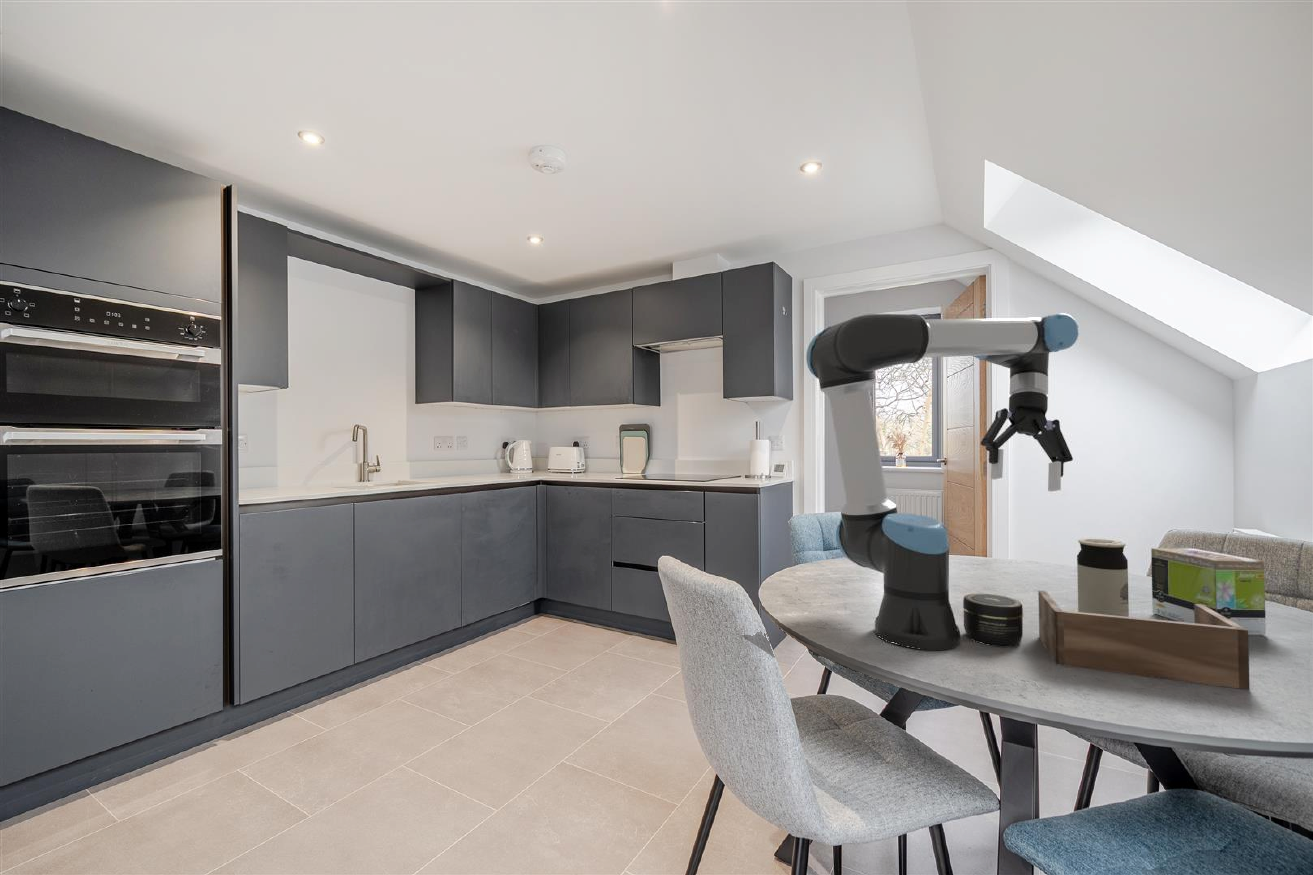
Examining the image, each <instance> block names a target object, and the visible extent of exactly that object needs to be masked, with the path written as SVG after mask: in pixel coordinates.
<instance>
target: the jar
mask: <svg viewBox="0 0 1313 875" xmlns="http://www.w3.org/2000/svg"><path fill="white" fill-rule="evenodd" d="M962 602H963V603H962V608H963V628H964V631H965V635H966V636H967V637H968V638H969V639H970V638H971V639H970V640H972V639H973V640H972V641H974V640H975V641H974V642H976V641H977V642H976V643H979V642H982V643H984V645H986V644H989V645H988V646H992V645H993V647H1000V646H1006V647H1007V646H1011V647H1015V646H1018V645H1019V644H1020V643H1021V642H1022V638H1023V631H1024V630H1023V625H1024V624H1023V617H1024V610H1023V609H1024V608H1023V604H1022V602H1021V601H1019V600H1017V599H1015V598H1012V597H1009V596H1005V595H998V594H991V593H970V594H967V595H966V594H965V595H964V597H963V600H962ZM982 643H981V644H982Z"/></svg>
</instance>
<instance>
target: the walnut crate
mask: <svg viewBox="0 0 1313 875" xmlns="http://www.w3.org/2000/svg"><path fill="white" fill-rule="evenodd" d="M1037 591H1038V631H1039V632H1038V634H1039V635H1038V636H1039V639H1040V641H1041V642H1042V644H1043V645H1044V647H1045V649H1046V650H1047V652H1048V653H1049V655H1050V657H1051V658H1052V660H1053V662H1054V663H1055V665H1058V666H1065V667H1066V666H1067V667H1073V668H1079V669H1080V668H1081V669H1088V670H1089V669H1090V670H1097V671H1103V672H1104V671H1105V672H1113V673H1119V674H1126V675H1133V676H1134V675H1136V676H1143V677H1150V678H1156V679H1157V678H1159V679H1163V680H1164V679H1165V680H1174V681H1180V682H1187V683H1196V684H1202V685H1203V684H1204V685H1211V686H1218V687H1224V688H1225V687H1226V688H1232V689H1233V688H1234V689H1240V690H1241V689H1242V690H1249V691H1250V690H1251V689H1250V687H1251V686H1250V685H1251V684H1250V656H1249V655H1250V652H1249V651H1250V648H1249V635H1248V630H1247V629H1245V628H1243V627H1241V626H1239V625H1238V624H1236V623H1234V622H1232V621H1231V620H1229V619H1227V618H1225V617H1224V616H1222V615H1220V614H1218V613H1217V612H1215V611H1213V610H1211V609H1210V608H1208V607H1206V606H1204V605H1200V604H1194V621H1195V623H1186V622H1178V621H1175V620H1166V619H1165V620H1164V619H1154V618H1144V617H1143V618H1142V617H1132V616H1129V617H1125V616H1114V615H1104V614H1094V613H1084V612H1078V611H1074V610H1073V611H1071V610H1062V609H1061V607H1060V606H1059V605H1058V604H1057V603H1056V602H1055V600H1054V599H1053V598H1052V597H1051V596H1050V594H1049V592H1047V591H1046V590H1045V591H1044V590H1037Z"/></svg>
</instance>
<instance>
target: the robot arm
mask: <svg viewBox="0 0 1313 875" xmlns="http://www.w3.org/2000/svg"><path fill="white" fill-rule="evenodd" d="M1078 328H1079V327H1078V324H1077V321H1076V320H1075V318H1074V317H1072V315H1070V314H1067V313H1063V312H1062V313H1061V312H1060V313H1055V314H1054V313H1053V314H1048V315H1047V316H1041V317H1010V318H1009V317H1005V318H1003V317H1001V318H999V317H998V318H992V317H991V318H941V319H940V318H936V319H935V318H933V319H932V318H931V319H929V318H927V319H925V317H923V316H922V315H920V314H916V313H915V314H913V313H912V314H910V313H909V314H907V313H906V314H903V313H901V314H900V313H897V314H895V313H878V314H877V313H876V314H874V313H871V314H870V313H869V314H863V315H857V316H854V317H852V318H850V319H848V320H845V321H843V322H839V323H837V324H835V325H832V326H827V328H825V329H823V330H822V331H820V332H818V333H817V334H816V335H815V336H814V337H813V338H812V339H811V341H810V342H809V344H808V346H807V350H806V364H807V368H808V369H809V372H810V373H811V374H812V375H814V377H815V378H816V379H818V382H819V389H820V392H822V393H823V394H825V395H826V396H828V399H829V404H830V410H831V417H832V423H833V428H834V429H833V430H834V435H835V440H836V441H835V442H836V447H837V453H838V458H839V459H838V460H839V465H840V472H841V478H842V482H843V483H842V484H843V489H844V495H845V503H844V504H843V506H842V508H841V509H840V516H841V519H840V520H839V524H837V526H836V530H835V540H836V541H835V542H836V543H837V547H838V549H839V550H840V552H841V553H842V555H843V556H844V557H845V558H846V559H848V560H849V561H851V562H852V563H854V564H856V565H858V566H859V567H863V568H865V569H866V568H868V569H870V570H873V571H876V572H879V573H881V574H883V597H882V599H881V603H880V606H879V610H878V615H877V616H876V618H875V620H874V633H875V632H876V633H877V635H878V636H880V637H881V638H883V639H885V640H887V641H889V642H888V643H890V642H894V643H897V644H899V645H903V646H902V647H904V646H909V647H914V648H913V649H915V648H920V649H919V650H924V649H929V651H941V650H942V651H943V650H950V649H953V648H956V647H958V646H960V643H961V632H960V628H959V626H958V625H957V623H956V619H955V616H954V615H955V614H954V612H953V608H952V606H951V602H950V592H949V591H950V588H949V587H950V586H949V585H950V552H949V551H950V541H949V536H948V528H947V527H946V525H945V523H943V522H942V521H941V520H939V519H936V518H933V517H929V516H926V515H919V514H915V513H914V514H913V513H906V512H905V513H901V512H900V513H898V507H897V504H896V503H895V502H893V500H891V499H890V498H888V495H887V494H888V492H887V488H886V480H885V475H884V474H885V473H884V469H883V462H882V457H881V451H880V444H879V439H878V433H877V428H876V421H875V420H876V419H875V415H874V409H873V402H872V396H871V388H872V387H873V385H874V384H875V383H876V382H877V381H876V375H875V372H876V371H878V370H881V369H885V368H889V367H892V366H897V365H902V364H916V363H918V362H920V361H922V359H924V358H946V357H947V358H948V357H949V358H951V357H974V358H976V359H978V360H980V361H985V362H988V363H990V364H991V363H992V364H994V365H998V366H1001V367H1004V368H1007V369H1009V395H1010V396H1009V397H1008V408H1006V407H1005V408H1001V409H1000V410H997V411H996V412H995V417H994V420H993V422H992V423H991V425H990V427H989V428H988V430H987V431H986V433H985V434H984V436H983V438H982V440H981V441H980V445H981V446H982V447H985V449H986V451H987V452H989V453H988V462H989V464H991V468H990V470H991V472H990V479H991V480H997V479H1002V478H1003V472H1004V471H1003V469H1004V468H1003V466H1004V449H1003V448H1002V449H1001V447H1002V446H1003V445H1004V444H1005V443H1006V442H1008V441H1009V439H1011V438H1012V437H1013V436H1014V435H1015V434H1016V433H1017V434H1018V435H1025V436H1029V437H1032V438H1033V439H1034V440H1036V441H1037V442H1038V443H1039V445H1040V446H1041V448H1042V449H1043V451H1044V453H1045V454H1046V455H1047V457H1048V458H1049V460H1050V461H1051V462H1049V463H1048V477H1047V480H1048V481H1047V491H1048V492H1056V491H1057V492H1058V491H1061V490H1062V489H1061V487H1062V486H1061V485H1062V484H1061V483H1062V482H1061V480H1062V477H1063V476H1064V467H1065V466H1064V464H1065V463H1067V462H1072V461H1073V459H1074V458H1073V456H1072V453H1071V450H1070V449H1069V446H1068V444H1067V441H1066V439H1065V437H1064V435H1063V432H1062V430H1061V426H1060V425H1061V423H1060V420H1059V419H1054V420H1049V419H1047V417H1046V414H1047V412H1048V408H1049V407H1048V406H1049V403H1048V402H1049V400H1048V398H1049V396H1047V395H1049V359H1050V358H1049V357H1050V355H1049V354H1050V353H1057V352H1060V351H1063V350H1067V349H1070V348H1071V347H1073V346H1074V345H1075V344H1076V342H1077V340H1078V337H1079V329H1078ZM1007 420H1009V422H1010V425H1009V426H1008V427H1006V428H1005V430H1004V431H1003V432H1002V433H1001V434H999V433H1000V431H1001V430H1002V428H1003V426H1004V424H1005V423H1006V421H1007ZM998 435H999V436H998ZM877 635H876V636H877ZM878 636H877V637H878ZM881 638H880V639H881ZM883 639H882V640H883ZM885 640H884V641H885ZM887 641H886V642H887ZM899 645H898V646H899ZM909 647H908V648H909Z"/></svg>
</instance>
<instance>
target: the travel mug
mask: <svg viewBox="0 0 1313 875" xmlns="http://www.w3.org/2000/svg"><path fill="white" fill-rule="evenodd" d="M1077 543H1078V544H1079V545H1080V550H1079V552H1078V553H1077V555H1076V565H1077V566H1076V567H1077V568H1076V569H1077V573H1076V574H1077V576H1076V578H1077V612H1084V613H1094V614H1104V615H1114V616H1125V617H1130V611H1129V605H1130V604H1129V569H1128V568H1129V567H1128V566H1129V563H1128V558H1127V557H1126V556H1125V554H1124V550H1125V547H1126V545H1127V544H1126V543H1125V542H1122V541H1119V540H1113V539H1105V538H1081V539H1078V542H1077Z"/></svg>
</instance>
